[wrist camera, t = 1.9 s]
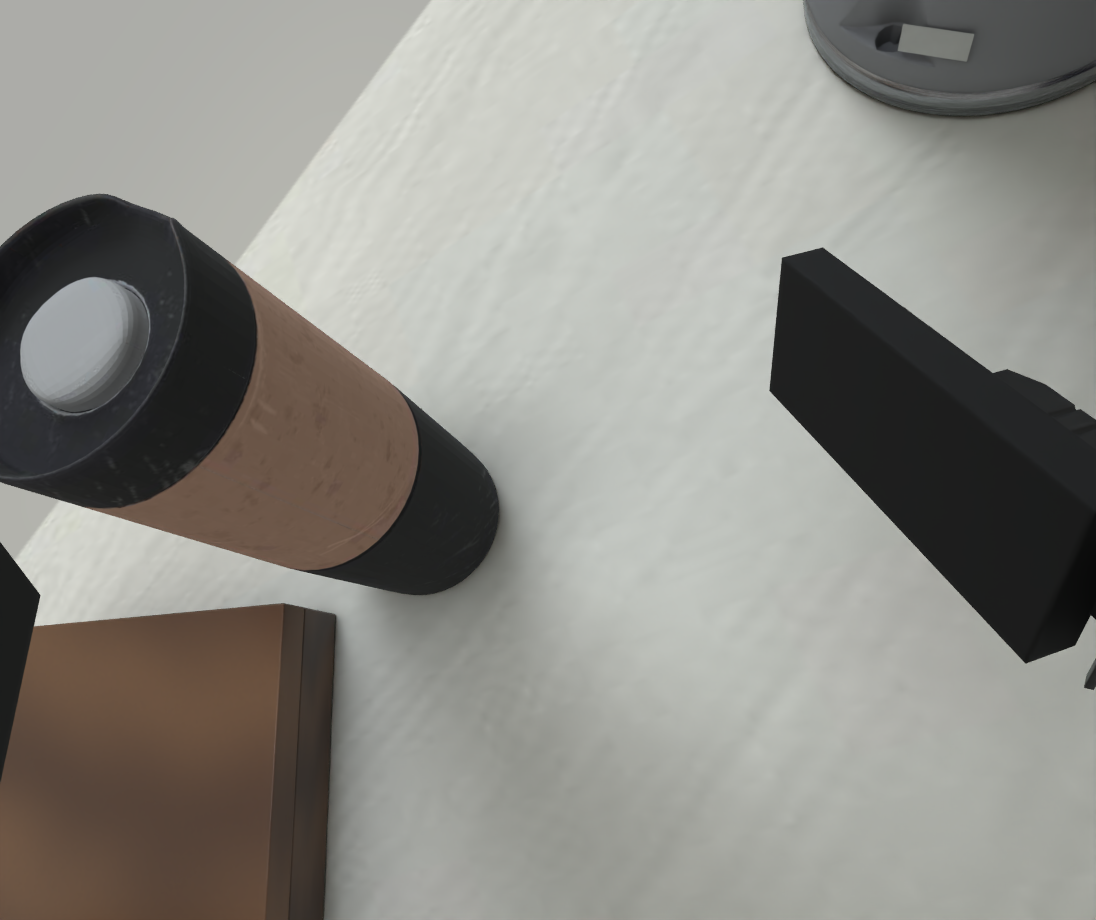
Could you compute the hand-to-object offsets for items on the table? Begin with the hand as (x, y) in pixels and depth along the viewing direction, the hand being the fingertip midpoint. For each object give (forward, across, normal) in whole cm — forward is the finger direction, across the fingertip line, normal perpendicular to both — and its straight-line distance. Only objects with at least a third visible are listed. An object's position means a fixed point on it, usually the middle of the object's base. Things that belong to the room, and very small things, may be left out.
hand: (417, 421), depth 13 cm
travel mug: (+17, 0, -18) cm, 25 cm away
